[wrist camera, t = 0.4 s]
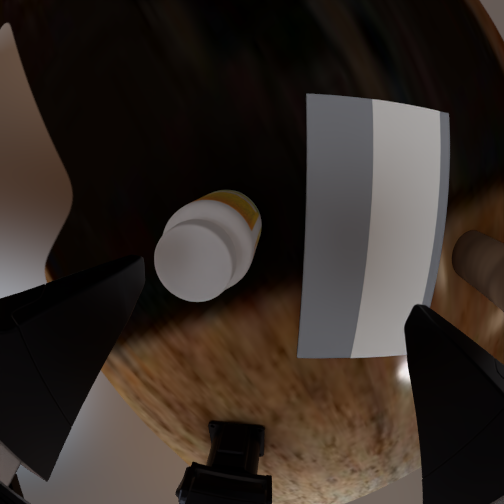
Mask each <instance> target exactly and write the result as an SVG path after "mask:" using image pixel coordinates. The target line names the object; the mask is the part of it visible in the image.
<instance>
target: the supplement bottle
mask: <svg viewBox="0 0 504 504" xmlns="http://www.w3.org/2000/svg"><path fill="white" fill-rule="evenodd" d="M261 226H262V224H261V217H260V213H259V211H258V209H257V207H256V206H255V204H254V203H253V202H252V201H251V200H250V199H249V198H248V197H247V196H245V195H244V194H242V193H240V192H237V191H233V190H219V191H215V192H212V193H210V194H208V195H206V196H204V197H202V198H200V199H197V200H195V201H193V202H191V203H189V204H187V205H185V206H184V207H182V208H181V209H179V210H178V211H177V212H176V213H175V214H174V215H173V216H172V217H171V218H170V220H169V221H168V223H167V225H166V227H165V230H164V233H163V236H162V237H161V238H160V240H159V242H158V244H157V246H156V250H155V255H154V263H155V269H156V272H157V275H158V277H159V279H160V280H161V282H162V283H163V285H164V286H165V287H166V288H167V289H168V290H169V291H170V292H171V293H172V294H174V295H176V296H177V297H179V298H181V299H184V300H187V301H192V302H203V301H207V300H211V299H213V298H215V297H217V296H218V295H219V294H221V293H222V292H223V291H224V290H225V289H227V288H229V287H231V286H233V285H235V284H236V283H237V282H239V281H240V280H241V279H242V278H243V276H244V275H245V274H246V272H247V271H248V269H249V267H250V265H251V262H252V260H253V257H254V253H255V250H256V247H257V244H258V241H259V238H260V234H261Z"/></svg>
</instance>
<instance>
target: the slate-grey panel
mask: <svg viewBox="0 0 504 504" xmlns="http://www.w3.org/2000/svg"><path fill="white" fill-rule="evenodd" d="M306 134H307V161H306V215H305V242H304V263H303V281H302V297H301V311H300V324H299V337H298V348H297V358H364V357H383V356H397V355H407V352H406V343H405V335H404V325H405V322H406V320H407V318H408V316H409V314H410V312H411V310H412V308H413V306H414V305H416V304H422V305H426V306H428V307H429V308H430V304H431V300H432V296H433V292H434V287H435V282H436V277H437V272H438V267H439V262H440V256H441V250H442V243H443V236H444V229H445V220H446V211H447V200H448V186H449V163H450V131H449V114H448V113H444V112H440V111H436V110H432V109H427V108H422V107H417V106H412V105H407V104H401V103H395V102H389V101H382V100H375V99H365V98H357V97H347V96H336V95H321V94H306Z"/></svg>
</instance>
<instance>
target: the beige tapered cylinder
mask: <svg viewBox="0 0 504 504" xmlns="http://www.w3.org/2000/svg"><path fill="white" fill-rule="evenodd" d="M452 264H453V268H454V270H455V272H456V273H457V274H458V275H459V276H461V277H462V278H463V279H464V280H466V281H467V282H468V283H469V284H471V285H472V286H473V287H474V288H476V289H477V290H478V291H479V292H481V293H482V294H483V295H484V296H486V297H487V298H488V299H489V300H490V301H491V302H493V303H494V304H495V305H496V306H497V307H499V308H500V309H501V310H502V311H503V312H504V244H503V243H501V242H499V241H497V240H495V239H493V238H491V237H489V236H487V235H485V234H482V233H480V232H478V231H468V232H466V233H465V234H463V235H462V236H461V237H460V238H459V240H458V241H457V243H456V245H455V247H454V250H453V254H452Z"/></svg>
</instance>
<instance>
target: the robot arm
mask: <svg viewBox="0 0 504 504" xmlns="http://www.w3.org/2000/svg"><path fill="white" fill-rule="evenodd" d="M144 283H145V272H144V260H143V258H142V257H141V256H136V255H129V256H126V257H122V258H119V259H116V260H113V261H110V262H107V263H104V264H101V265H98V266H95V267H92V268H89V269H86V270H83V271H80V272H78V273H75V274H72V275H69V276H66V277H63V278H60V279H57V280H55V281H52V282H49V283H46V285H45V284H43V285H41V286H38V287H35V288H32V289H29V290H26V291H23V292H20V293H17V294H14V295H10V296H7V297H4V298H1V299H0V504H31V503H29V502H27V501H26V500H25V499H24V497H23V494H22V491H21V488H20V485H19V481H18V478H17V474H15V473H16V472H17V470H18V468H19V466H20V464H21V465H22V466H24V467H25V468H27V469H28V470H30V471H31V472H33V473H34V474H36V475H37V476H39V477H40V478H42V479H43V480H45V481H48V480H49V478H50V475H51V473H52V471H53V468H54V466H55V464H56V461H57V459H58V457H59V454H60V452H61V450H62V448H63V445H64V443H65V441H66V439H67V437H68V435H69V432H70V430H71V426H73V423H74V421H75V419H76V417H77V415H78V413H79V411H80V409H81V407H82V405H83V403H84V401H85V399H86V397H87V395H88V393H89V391H90V389H91V387H92V385H93V383H94V382H95V379H96V378H97V376H98V374H99V372H100V370H101V368H102V366H103V365H104V363H105V361H106V359H107V357H108V355H109V354H110V352H111V350H112V348H113V346H114V345H115V343H116V341H117V339H118V338H119V336H120V334H121V332H122V331H123V329H124V327H125V325H126V324H127V322H128V320H129V318H130V315H131V313H132V311H133V309H134V306H135V304H136V302H137V299H138V297H139V295H140V293H141V291H142V288H143V286H144ZM404 335H405V343H406V352H407V362H408V369H409V375H410V380H411V386H412V392H413V398H414V404H415V411H416V418H417V425H418V434H419V443H420V453H421V466H422V478H423V479H422V486H423V504H504V365H503V364H502V363H500V362H499V361H498V360H497V359H496V358H494V357H493V356H492V355H491V354H489V353H488V352H487V351H486V350H484V349H483V348H482V347H480V346H479V345H478V344H477V343H475V342H474V341H473V340H472V339H470V338H469V337H468V336H466V335H465V334H464V333H463V332H461V331H460V330H459V329H457V328H456V327H455V326H453V325H452V324H451V323H449V322H448V321H447V320H445V319H444V318H443V317H441V316H440V315H439V314H437V313H436V312H435V311H433V310H432V309H431V308H429V307H428V306H426V305H422V304H416V305H414V306H413V308H412V310H411V312H410V314H409V316H408V318H407V320H406V322H405V325H404ZM208 427H209V433H210V438H211V444H212V446H211V449H210V453H209V457H208V461H207V464H206V465H202V464H198V463H196V462H192V465H191V467H190V466H189V467H187V468H186V471H185V474H184V477H183V479H182V481H181V483H180V485H179V486H178V488H177V490H176V496H177V497H178V499H179V504H272V476H271V475H266V476H265V475H257V470H258V462H259V457H261V456H263V455H264V434H265V428H264V427H263V426H258V425H244V424H232V423H223V422H214V421H211V422H209V425H208Z"/></svg>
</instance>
